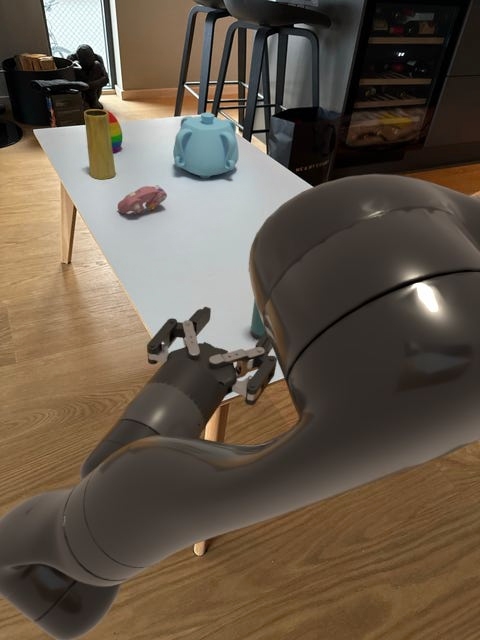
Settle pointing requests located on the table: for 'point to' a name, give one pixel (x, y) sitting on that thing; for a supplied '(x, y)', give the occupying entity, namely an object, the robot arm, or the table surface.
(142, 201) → the video game controller
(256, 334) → the cylinder
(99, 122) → the vase
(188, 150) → the decorative pot
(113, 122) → the decorative egg
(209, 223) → the table surface
